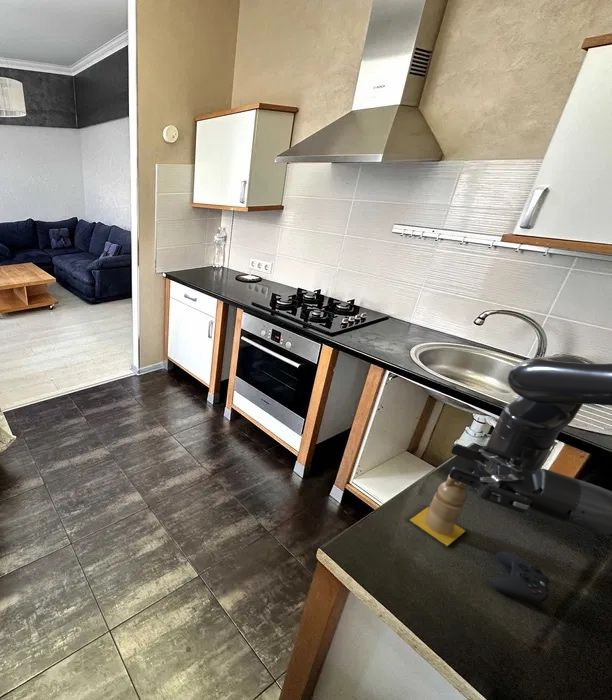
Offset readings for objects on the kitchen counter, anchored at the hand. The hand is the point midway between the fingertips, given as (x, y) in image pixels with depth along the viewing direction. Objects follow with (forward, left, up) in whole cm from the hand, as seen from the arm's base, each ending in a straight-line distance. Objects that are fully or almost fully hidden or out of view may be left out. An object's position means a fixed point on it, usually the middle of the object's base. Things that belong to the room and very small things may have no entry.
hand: (451, 459), depth 72 cm
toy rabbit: (+1, +2, -16) cm, 16 cm away
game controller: (+10, +12, -16) cm, 22 cm away
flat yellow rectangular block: (+1, +2, -16) cm, 16 cm away
